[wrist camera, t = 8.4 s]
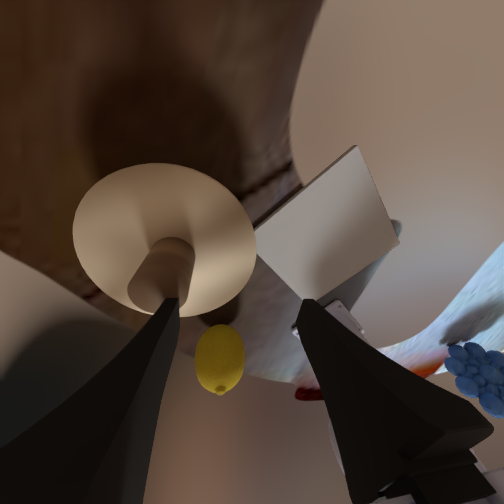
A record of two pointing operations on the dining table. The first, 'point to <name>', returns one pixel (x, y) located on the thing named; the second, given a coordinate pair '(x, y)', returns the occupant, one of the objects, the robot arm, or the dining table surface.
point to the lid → (164, 238)
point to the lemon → (219, 358)
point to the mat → (327, 229)
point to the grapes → (479, 375)
